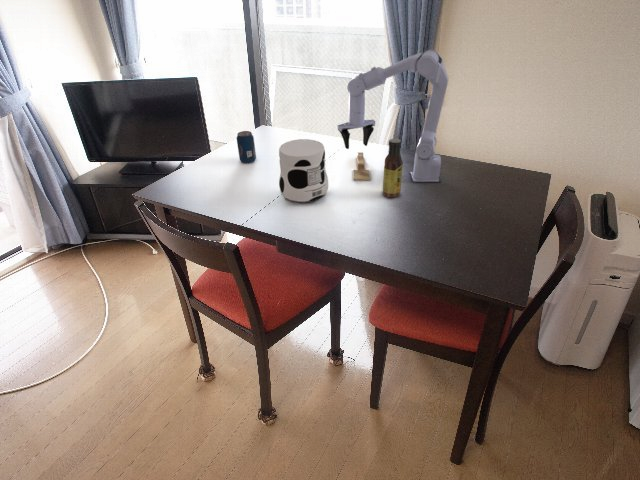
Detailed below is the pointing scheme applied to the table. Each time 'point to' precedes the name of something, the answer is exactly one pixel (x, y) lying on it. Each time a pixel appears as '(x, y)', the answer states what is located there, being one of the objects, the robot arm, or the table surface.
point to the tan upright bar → (361, 169)
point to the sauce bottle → (393, 170)
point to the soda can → (246, 147)
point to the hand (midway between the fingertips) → (356, 146)
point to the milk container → (302, 170)
